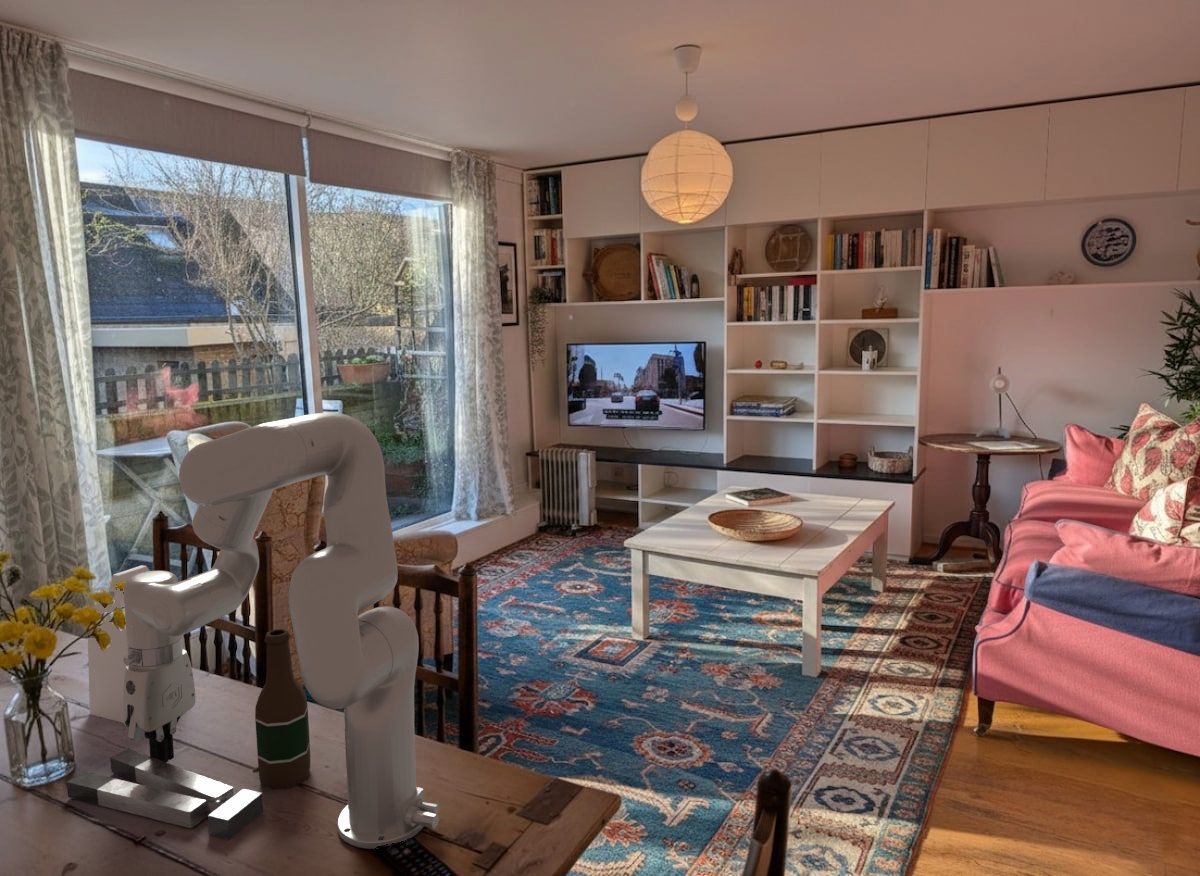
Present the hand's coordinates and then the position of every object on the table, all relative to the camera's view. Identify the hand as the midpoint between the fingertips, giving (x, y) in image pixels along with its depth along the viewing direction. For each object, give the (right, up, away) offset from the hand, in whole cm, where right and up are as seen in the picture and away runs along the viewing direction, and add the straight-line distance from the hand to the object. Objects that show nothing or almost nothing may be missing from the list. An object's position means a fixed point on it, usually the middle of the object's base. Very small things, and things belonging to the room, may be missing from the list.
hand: (162, 759), depth 131 cm
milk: (-15, +1, +21) cm, 26 cm away
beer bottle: (+20, -2, -2) cm, 21 cm away
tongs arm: (+5, -2, -6) cm, 8 cm away
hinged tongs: (+5, -3, -9) cm, 11 cm away
